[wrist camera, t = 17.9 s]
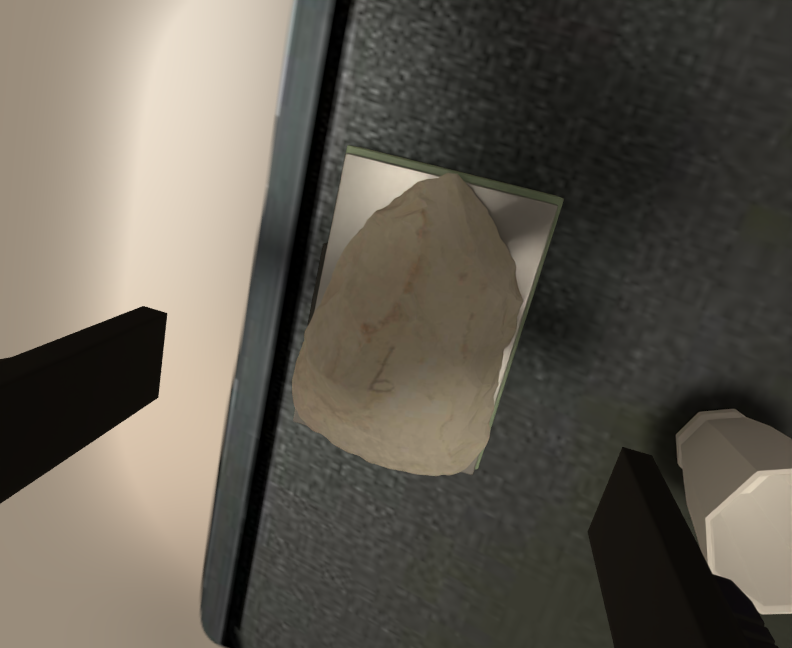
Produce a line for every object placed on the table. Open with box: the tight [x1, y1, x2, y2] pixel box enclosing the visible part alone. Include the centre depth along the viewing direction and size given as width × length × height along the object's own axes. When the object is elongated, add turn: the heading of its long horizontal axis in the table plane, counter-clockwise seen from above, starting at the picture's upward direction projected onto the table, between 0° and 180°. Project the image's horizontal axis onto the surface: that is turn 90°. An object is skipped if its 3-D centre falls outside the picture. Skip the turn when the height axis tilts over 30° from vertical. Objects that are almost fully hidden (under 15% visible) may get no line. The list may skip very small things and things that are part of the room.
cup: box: [676, 409, 792, 614], centre depth 25 cm, size 7×10×8 cm
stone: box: [292, 173, 523, 476], centre depth 23 cm, size 9×13×5 cm
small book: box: [293, 145, 564, 475], centre depth 28 cm, size 14×10×4 cm
